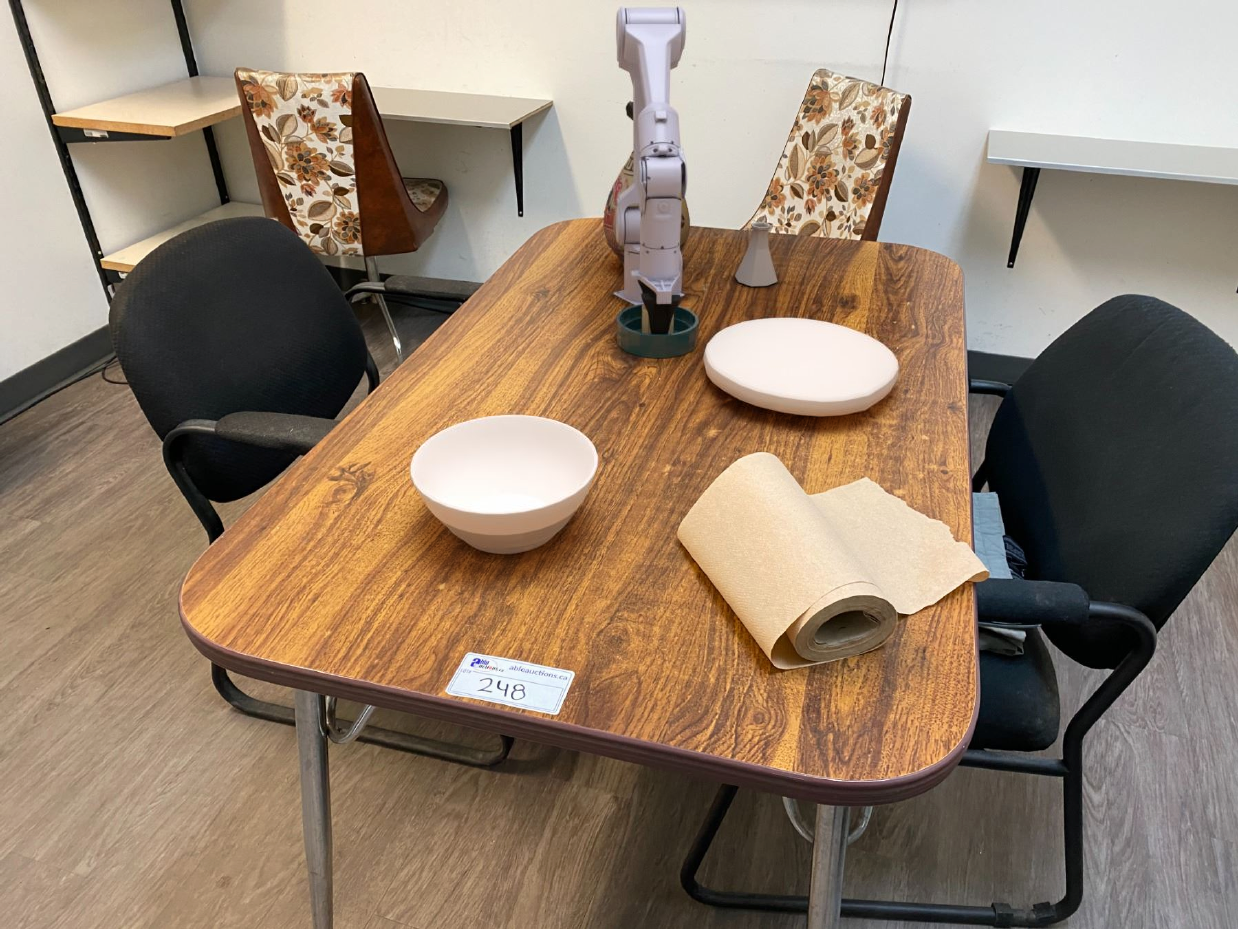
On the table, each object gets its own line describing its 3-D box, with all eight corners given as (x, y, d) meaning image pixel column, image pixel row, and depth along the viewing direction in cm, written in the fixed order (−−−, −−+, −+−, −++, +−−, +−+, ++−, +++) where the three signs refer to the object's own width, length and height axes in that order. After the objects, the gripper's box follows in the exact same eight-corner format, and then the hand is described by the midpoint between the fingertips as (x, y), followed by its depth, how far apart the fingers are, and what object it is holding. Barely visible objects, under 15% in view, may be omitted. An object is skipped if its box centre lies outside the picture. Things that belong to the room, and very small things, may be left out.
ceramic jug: (597, 255, 172) (595, 85, 156) (676, 250, 174) (683, 82, 158) (612, 288, 158) (613, 105, 142) (699, 282, 160) (709, 102, 144)
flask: (727, 276, 163) (731, 221, 158) (762, 270, 165) (767, 215, 160) (749, 290, 157) (754, 233, 152) (784, 284, 160) (790, 227, 155)
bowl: (509, 457, 111) (505, 397, 106) (635, 517, 100) (636, 453, 96) (380, 531, 98) (370, 466, 94) (509, 608, 88) (503, 539, 83)
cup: (658, 331, 141) (659, 298, 138) (679, 342, 138) (680, 308, 135) (634, 339, 139) (635, 305, 136) (654, 350, 135) (655, 316, 132)
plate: (716, 304, 140) (895, 319, 135) (713, 344, 142) (888, 361, 138) (693, 365, 115) (911, 387, 111) (689, 412, 118) (902, 436, 113)
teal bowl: (662, 321, 146) (663, 296, 143) (713, 348, 138) (715, 322, 135) (600, 340, 140) (600, 315, 137) (650, 369, 131) (651, 342, 129)
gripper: (628, 227, 136) (627, 312, 143) (636, 260, 124) (634, 352, 131) (675, 226, 136) (671, 311, 144) (687, 259, 124) (683, 350, 131)
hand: (657, 330), depth 137 cm, fingers closed on cup, 5 cm apart
